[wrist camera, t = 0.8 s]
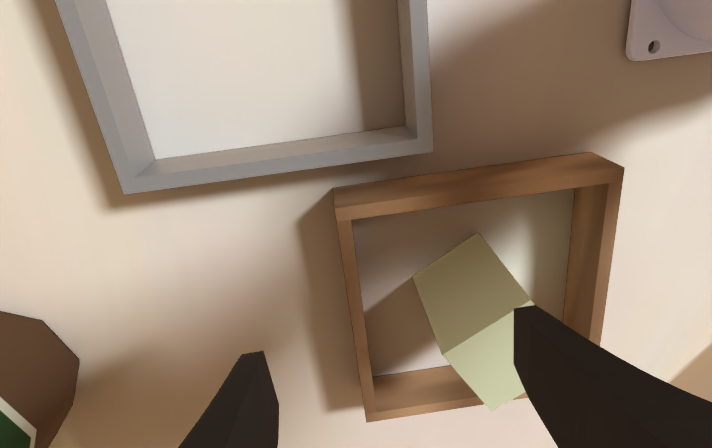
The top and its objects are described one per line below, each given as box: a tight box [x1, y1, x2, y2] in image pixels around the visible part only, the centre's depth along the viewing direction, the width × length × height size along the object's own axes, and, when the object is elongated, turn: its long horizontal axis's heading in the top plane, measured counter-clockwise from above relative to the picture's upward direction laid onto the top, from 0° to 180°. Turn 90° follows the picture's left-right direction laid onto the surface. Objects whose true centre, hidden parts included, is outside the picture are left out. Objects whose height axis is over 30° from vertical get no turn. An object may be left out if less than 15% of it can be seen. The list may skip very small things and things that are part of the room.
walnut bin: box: [333, 152, 624, 422], centre depth 22 cm, size 12×12×2 cm
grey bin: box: [55, 0, 434, 195], centre depth 16 cm, size 12×12×2 cm
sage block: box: [412, 233, 534, 412], centre depth 21 cm, size 4×4×6 cm
